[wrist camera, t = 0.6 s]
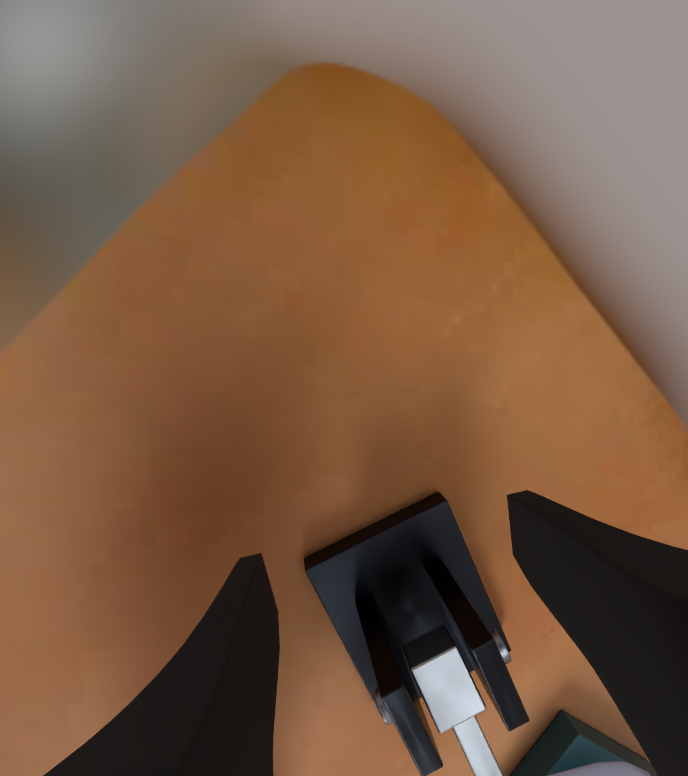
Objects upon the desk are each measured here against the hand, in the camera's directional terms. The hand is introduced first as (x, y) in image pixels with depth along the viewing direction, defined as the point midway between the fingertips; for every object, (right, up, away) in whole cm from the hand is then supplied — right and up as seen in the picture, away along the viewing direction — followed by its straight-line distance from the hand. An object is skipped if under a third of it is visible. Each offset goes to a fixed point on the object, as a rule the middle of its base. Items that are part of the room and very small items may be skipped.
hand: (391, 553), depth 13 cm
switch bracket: (+2, -7, +13) cm, 15 cm away
